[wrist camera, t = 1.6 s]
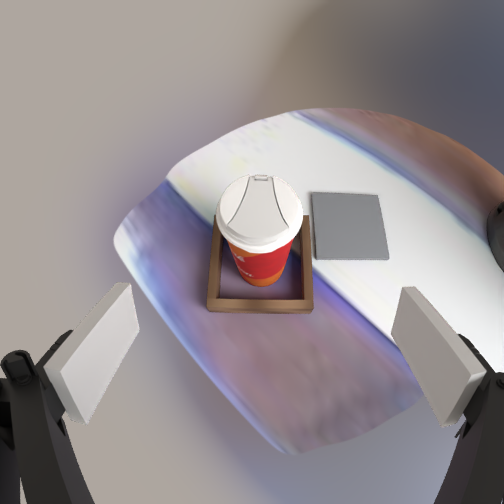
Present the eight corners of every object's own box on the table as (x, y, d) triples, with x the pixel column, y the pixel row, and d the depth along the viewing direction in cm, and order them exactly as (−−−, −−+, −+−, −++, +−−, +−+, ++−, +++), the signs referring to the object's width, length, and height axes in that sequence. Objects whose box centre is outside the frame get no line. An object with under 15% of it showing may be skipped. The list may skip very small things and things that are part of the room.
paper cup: (233, 237, 40) (219, 168, 27) (292, 239, 40) (303, 170, 27) (227, 294, 37) (208, 244, 24) (291, 297, 36) (305, 248, 24)
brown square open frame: (306, 225, 40) (308, 215, 38) (310, 313, 36) (313, 308, 33) (217, 224, 41) (214, 214, 39) (210, 311, 36) (206, 306, 34)
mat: (376, 197, 42) (377, 195, 41) (387, 260, 38) (389, 258, 37) (311, 194, 42) (311, 192, 42) (316, 259, 38) (316, 257, 38)
